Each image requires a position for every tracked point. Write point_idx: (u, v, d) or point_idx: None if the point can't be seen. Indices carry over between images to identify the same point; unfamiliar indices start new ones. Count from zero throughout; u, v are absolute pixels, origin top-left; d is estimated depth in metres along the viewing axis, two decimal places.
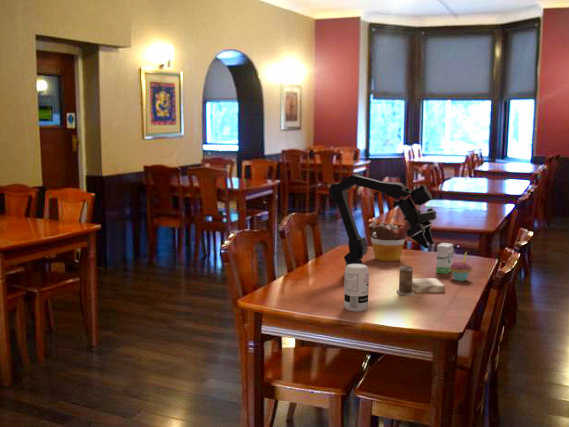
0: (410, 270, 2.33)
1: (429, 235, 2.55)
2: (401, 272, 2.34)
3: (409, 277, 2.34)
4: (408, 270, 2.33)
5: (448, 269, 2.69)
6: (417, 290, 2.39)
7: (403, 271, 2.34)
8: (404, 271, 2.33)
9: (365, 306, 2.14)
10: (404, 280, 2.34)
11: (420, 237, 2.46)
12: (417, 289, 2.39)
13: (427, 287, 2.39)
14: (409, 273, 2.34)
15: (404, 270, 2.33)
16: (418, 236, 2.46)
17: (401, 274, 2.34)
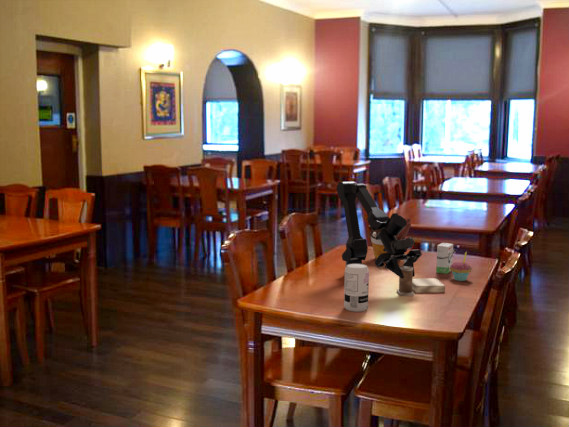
0: (410, 270, 2.33)
1: None
2: None
3: (409, 277, 2.34)
4: (408, 270, 2.33)
5: (448, 269, 2.69)
6: (417, 290, 2.39)
7: (403, 271, 2.34)
8: (404, 271, 2.33)
9: (365, 306, 2.14)
10: (404, 280, 2.34)
11: (394, 266, 2.35)
12: (417, 289, 2.39)
13: (427, 287, 2.39)
14: (409, 273, 2.33)
15: (404, 270, 2.33)
16: (393, 266, 2.36)
17: None
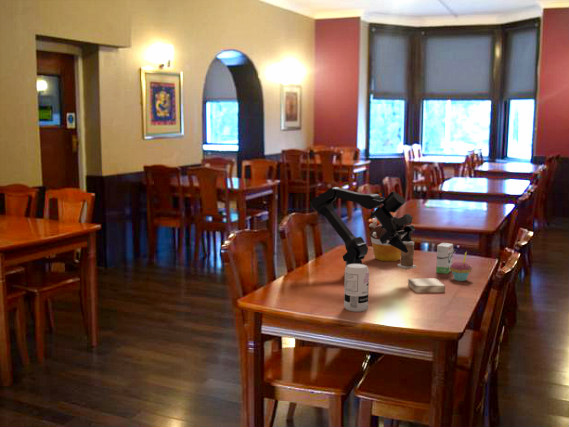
0: (413, 244, 2.46)
1: None
2: None
3: (412, 251, 2.46)
4: (411, 244, 2.46)
5: (448, 269, 2.69)
6: (417, 290, 2.39)
7: (407, 245, 2.46)
8: (408, 245, 2.45)
9: (365, 306, 2.14)
10: (408, 254, 2.46)
11: (397, 242, 2.46)
12: (417, 289, 2.39)
13: (427, 287, 2.39)
14: (412, 247, 2.46)
15: (408, 244, 2.45)
16: (396, 241, 2.47)
17: None
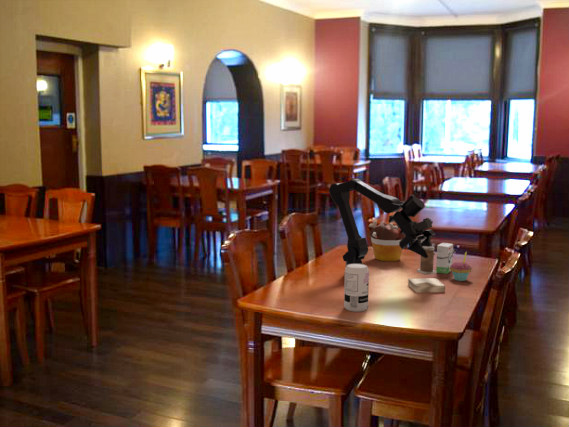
0: (433, 249, 2.41)
1: None
2: None
3: (432, 256, 2.41)
4: (431, 249, 2.40)
5: (448, 269, 2.69)
6: (417, 290, 2.39)
7: (427, 251, 2.40)
8: (428, 251, 2.40)
9: (365, 306, 2.14)
10: (428, 259, 2.41)
11: (417, 247, 2.41)
12: (417, 289, 2.39)
13: (427, 287, 2.39)
14: (432, 252, 2.41)
15: (428, 250, 2.40)
16: (415, 246, 2.41)
17: None
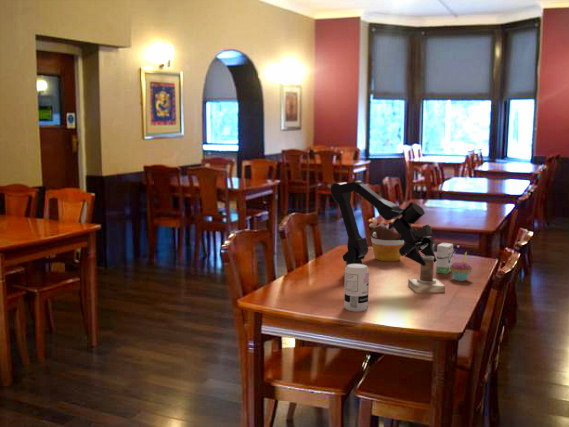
0: (433, 259, 2.41)
1: (431, 253, 2.46)
2: None
3: (432, 266, 2.42)
4: (431, 259, 2.41)
5: (448, 269, 2.69)
6: (417, 290, 2.39)
7: (427, 260, 2.41)
8: (428, 260, 2.41)
9: (365, 306, 2.14)
10: (428, 269, 2.41)
11: (415, 255, 2.40)
12: (417, 290, 2.39)
13: (427, 287, 2.39)
14: (432, 262, 2.41)
15: (428, 259, 2.40)
16: (413, 254, 2.40)
17: None
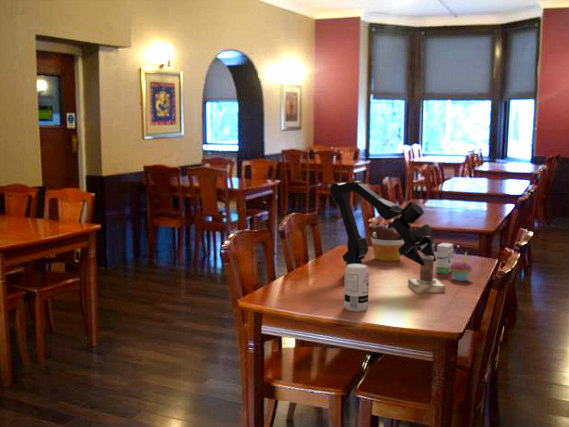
0: (433, 258, 2.42)
1: (431, 252, 2.47)
2: (424, 261, 2.41)
3: (432, 265, 2.42)
4: (431, 259, 2.41)
5: (448, 269, 2.69)
6: (417, 290, 2.39)
7: (427, 260, 2.41)
8: (428, 260, 2.41)
9: (365, 306, 2.14)
10: (428, 268, 2.41)
11: (414, 254, 2.40)
12: (417, 290, 2.39)
13: (427, 287, 2.39)
14: (432, 261, 2.42)
15: (428, 259, 2.41)
16: (412, 254, 2.40)
17: None
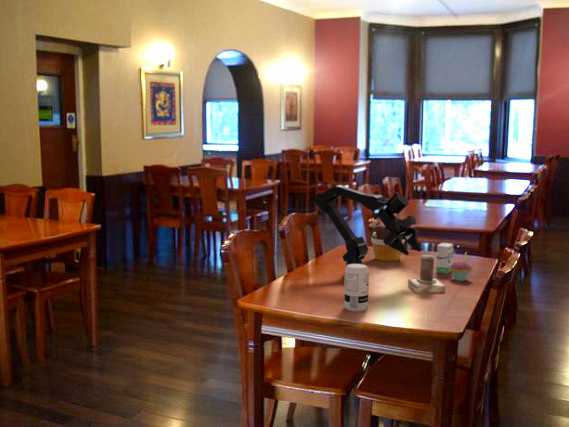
0: (433, 258, 2.42)
1: (415, 242, 2.51)
2: (425, 261, 2.41)
3: (432, 265, 2.42)
4: (432, 258, 2.41)
5: (448, 269, 2.69)
6: (417, 290, 2.39)
7: (427, 260, 2.41)
8: (428, 260, 2.41)
9: (365, 306, 2.14)
10: (429, 268, 2.41)
11: (398, 244, 2.44)
12: (417, 290, 2.39)
13: (427, 287, 2.39)
14: (432, 261, 2.42)
15: (429, 259, 2.41)
16: (396, 244, 2.44)
17: (425, 263, 2.42)
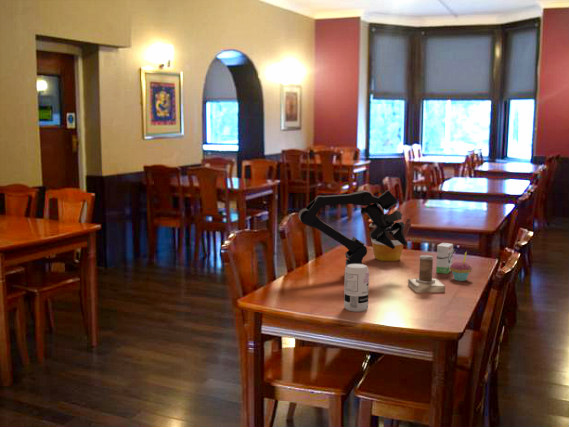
0: (432, 258, 2.42)
1: (401, 237, 2.60)
2: (424, 261, 2.41)
3: (431, 265, 2.42)
4: (431, 259, 2.41)
5: (448, 269, 2.69)
6: (417, 290, 2.39)
7: (427, 260, 2.41)
8: (428, 260, 2.41)
9: (365, 306, 2.14)
10: (428, 268, 2.41)
11: (385, 238, 2.53)
12: (417, 290, 2.39)
13: (427, 287, 2.39)
14: (432, 261, 2.42)
15: (428, 259, 2.41)
16: (383, 238, 2.54)
17: (425, 263, 2.41)
